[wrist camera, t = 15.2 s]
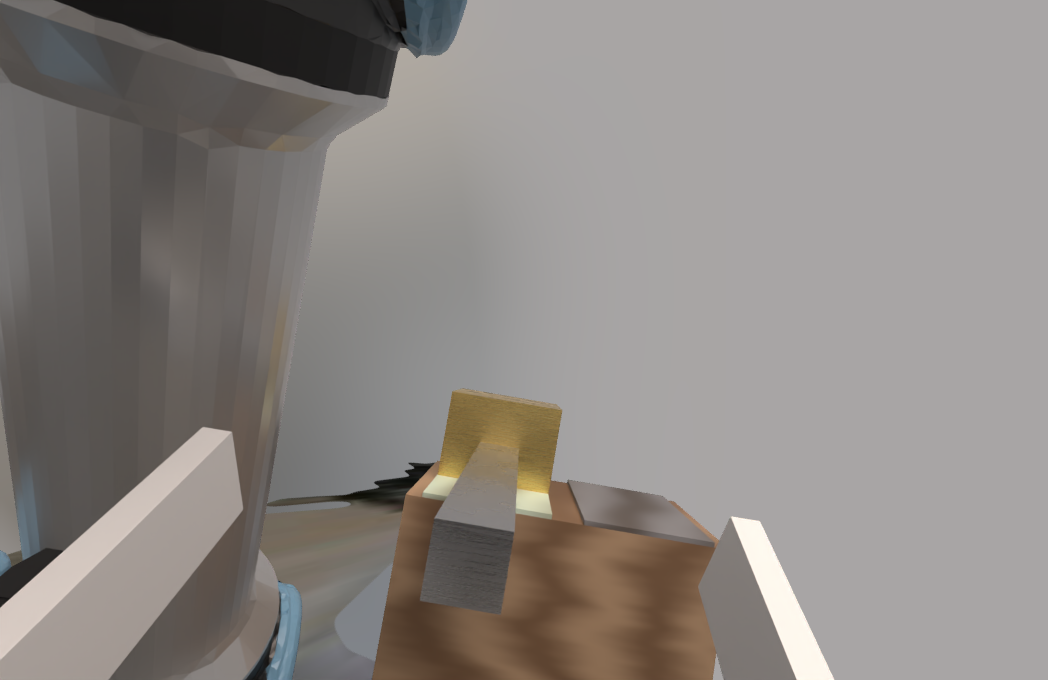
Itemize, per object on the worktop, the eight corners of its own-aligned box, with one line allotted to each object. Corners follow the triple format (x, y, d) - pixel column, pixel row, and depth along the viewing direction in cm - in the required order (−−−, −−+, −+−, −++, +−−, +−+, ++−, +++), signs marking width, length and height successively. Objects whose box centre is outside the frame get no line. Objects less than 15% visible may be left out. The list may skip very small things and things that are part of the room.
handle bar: (344, 587, 17) (377, 413, 17) (450, 459, 40) (462, 388, 41) (576, 628, 16) (603, 451, 17) (544, 475, 40) (556, 404, 41)
